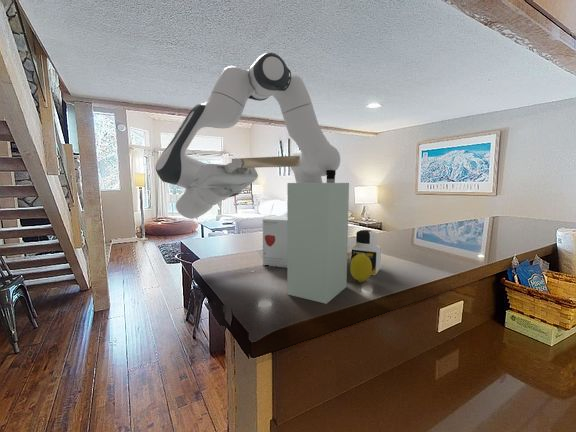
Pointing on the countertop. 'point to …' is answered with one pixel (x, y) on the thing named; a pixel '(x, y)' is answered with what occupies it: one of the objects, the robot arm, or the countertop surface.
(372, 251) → the medicine bottle
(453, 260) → the countertop surface
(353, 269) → the lemon
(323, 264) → the pedestal
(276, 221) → the supplement box
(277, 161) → the birch bar
